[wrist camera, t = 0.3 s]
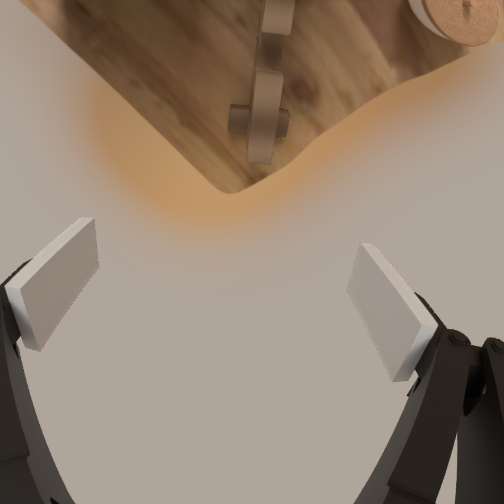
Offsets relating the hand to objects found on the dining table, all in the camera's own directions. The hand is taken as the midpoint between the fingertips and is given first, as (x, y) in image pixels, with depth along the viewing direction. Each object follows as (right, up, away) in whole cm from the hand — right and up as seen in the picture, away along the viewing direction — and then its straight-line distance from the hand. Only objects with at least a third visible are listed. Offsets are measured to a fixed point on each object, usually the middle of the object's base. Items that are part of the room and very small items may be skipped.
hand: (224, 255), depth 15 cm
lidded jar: (+23, +31, +9) cm, 40 cm away
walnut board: (+3, +24, +15) cm, 28 cm away
